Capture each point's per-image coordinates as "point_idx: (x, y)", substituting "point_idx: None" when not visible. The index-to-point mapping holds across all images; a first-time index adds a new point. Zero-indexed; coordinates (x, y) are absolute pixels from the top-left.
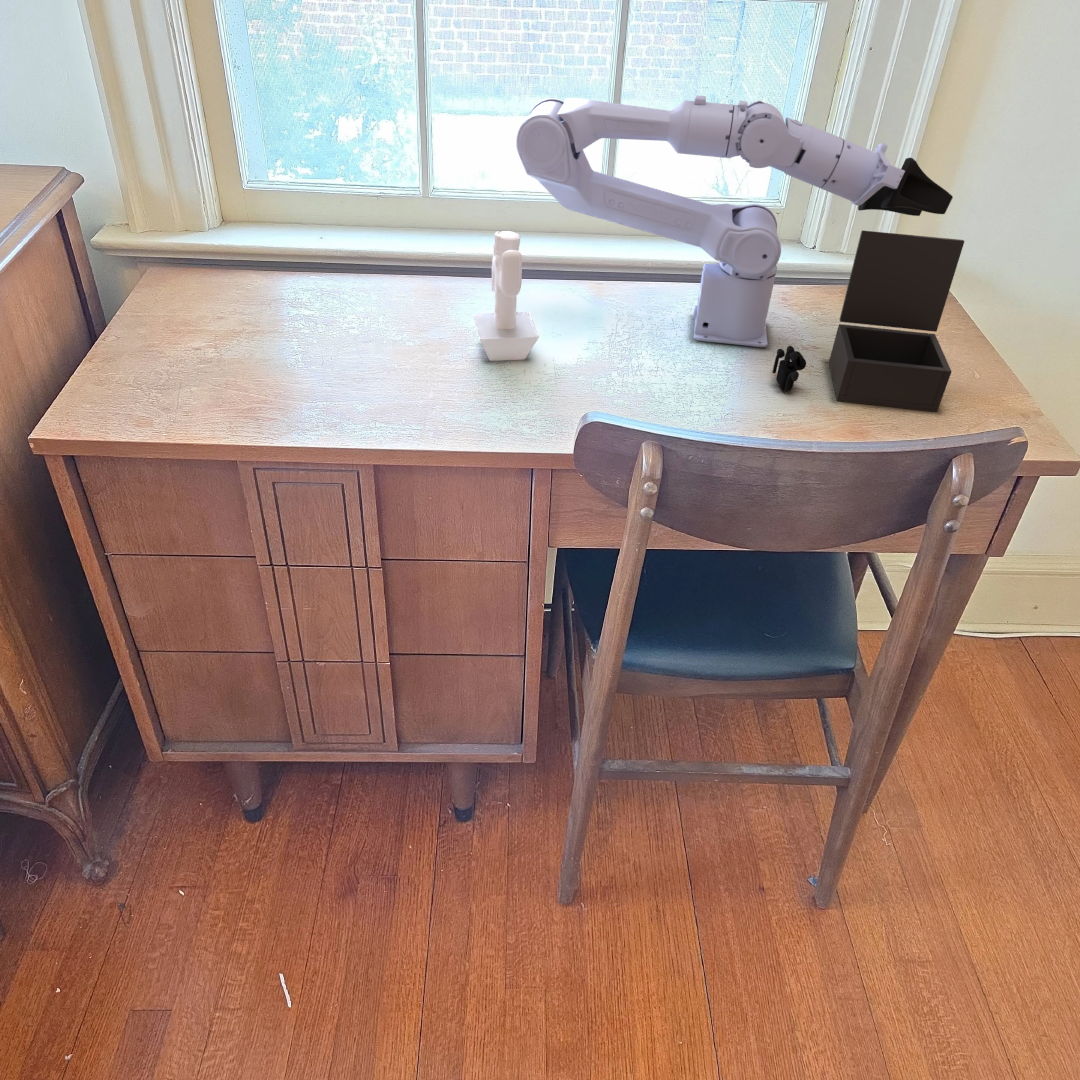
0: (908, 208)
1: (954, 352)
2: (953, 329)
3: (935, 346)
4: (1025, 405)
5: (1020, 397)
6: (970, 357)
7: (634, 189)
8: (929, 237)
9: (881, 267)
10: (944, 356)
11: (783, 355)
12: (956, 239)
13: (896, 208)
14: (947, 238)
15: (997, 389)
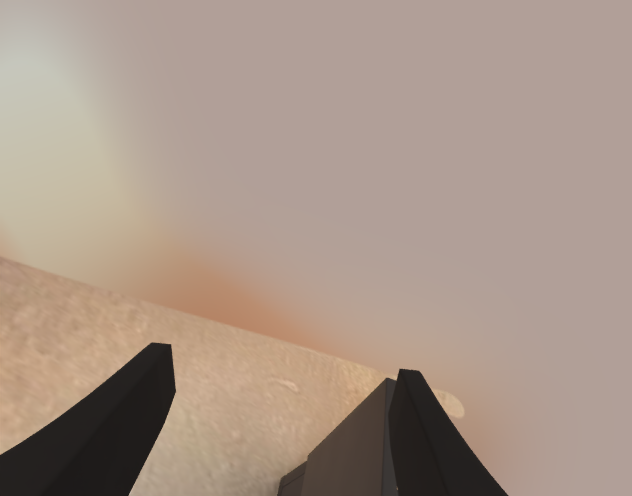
0: (152, 430)
1: (214, 373)
2: (131, 323)
3: None
4: (364, 369)
5: (346, 362)
6: (234, 358)
7: None
8: (393, 480)
9: None
10: (397, 491)
11: None
12: (390, 396)
13: (126, 486)
14: (386, 419)
15: (328, 379)
